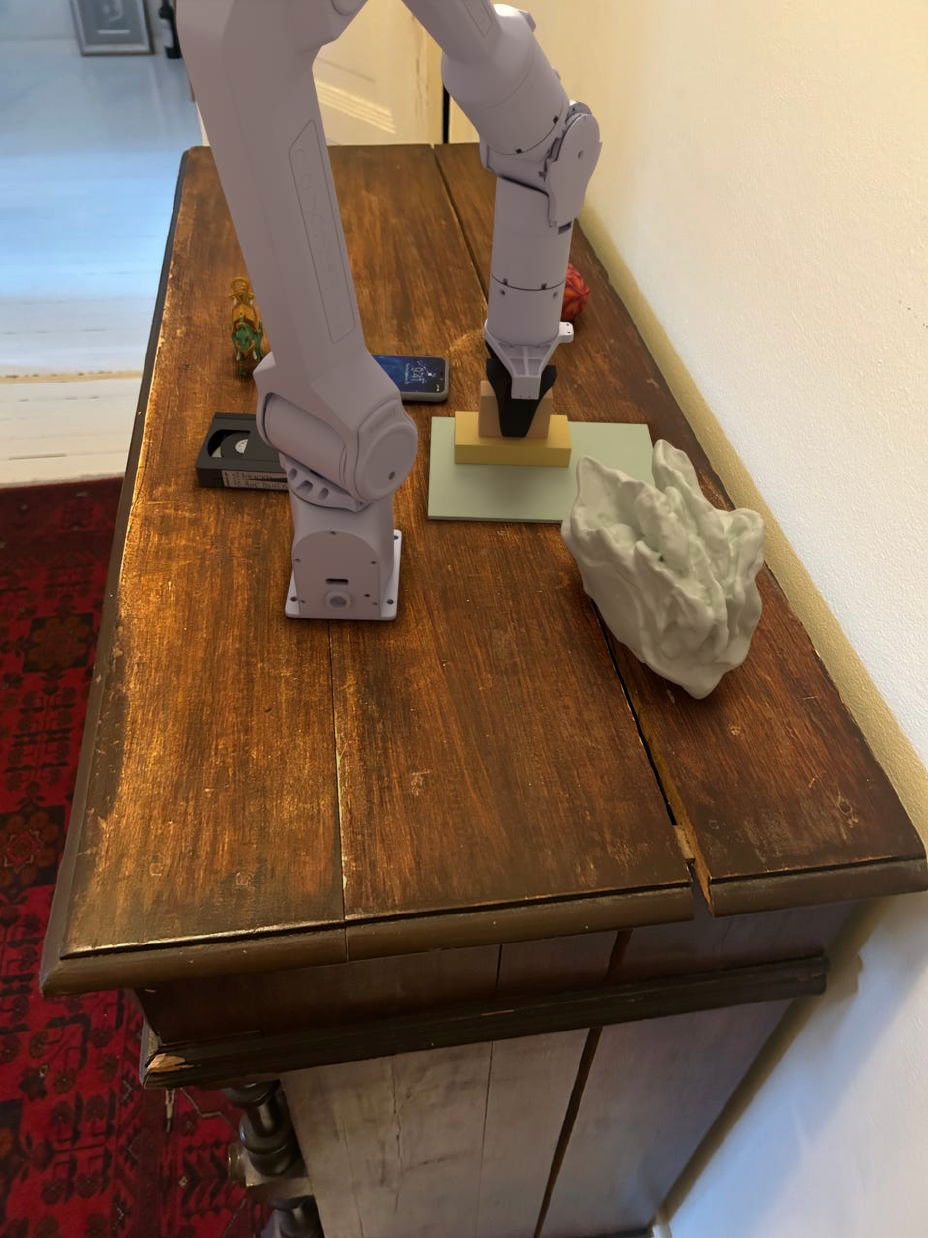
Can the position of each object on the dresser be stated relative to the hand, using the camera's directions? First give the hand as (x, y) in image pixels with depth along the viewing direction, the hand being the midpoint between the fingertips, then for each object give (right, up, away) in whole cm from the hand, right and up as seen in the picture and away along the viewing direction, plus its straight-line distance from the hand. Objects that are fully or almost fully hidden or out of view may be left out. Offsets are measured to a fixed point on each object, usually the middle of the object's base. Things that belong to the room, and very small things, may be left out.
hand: (513, 424), depth 75 cm
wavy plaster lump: (+9, -17, -11) cm, 22 cm away
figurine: (-25, +9, +11) cm, 29 cm away
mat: (+3, -4, +1) cm, 5 cm away
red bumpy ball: (+6, +16, +19) cm, 25 cm away
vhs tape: (-19, -3, 0) cm, 20 cm away
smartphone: (-13, +6, +9) cm, 17 cm away
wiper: (0, -2, +2) cm, 2 cm away
